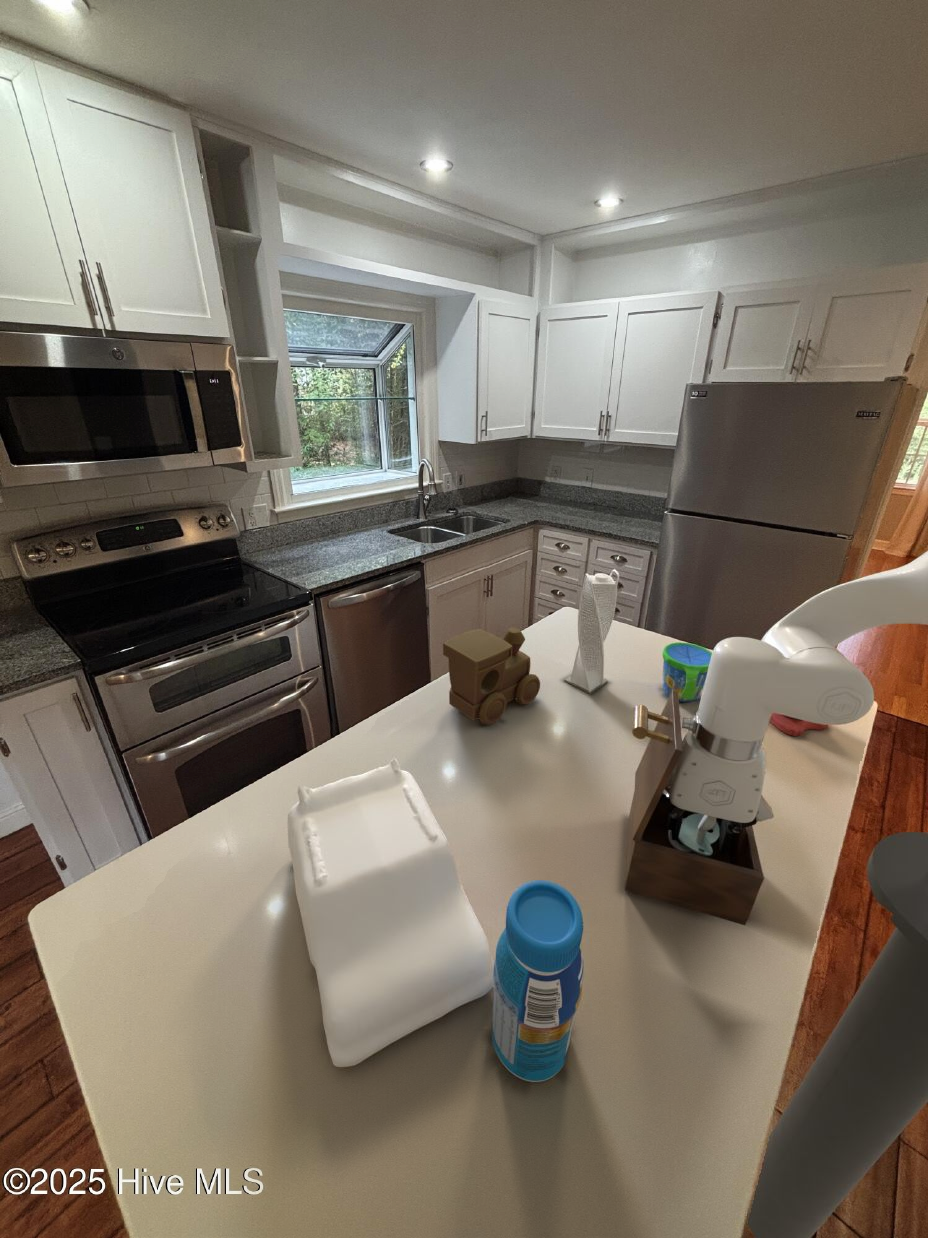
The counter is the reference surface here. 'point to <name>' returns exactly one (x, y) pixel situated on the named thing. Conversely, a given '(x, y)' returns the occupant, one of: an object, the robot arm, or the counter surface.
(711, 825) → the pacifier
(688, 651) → the snack cup
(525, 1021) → the beverage bottle
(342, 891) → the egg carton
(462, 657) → the wooden toy train
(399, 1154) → the counter surface
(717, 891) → the chest
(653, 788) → the lid
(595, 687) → the skyscraper
